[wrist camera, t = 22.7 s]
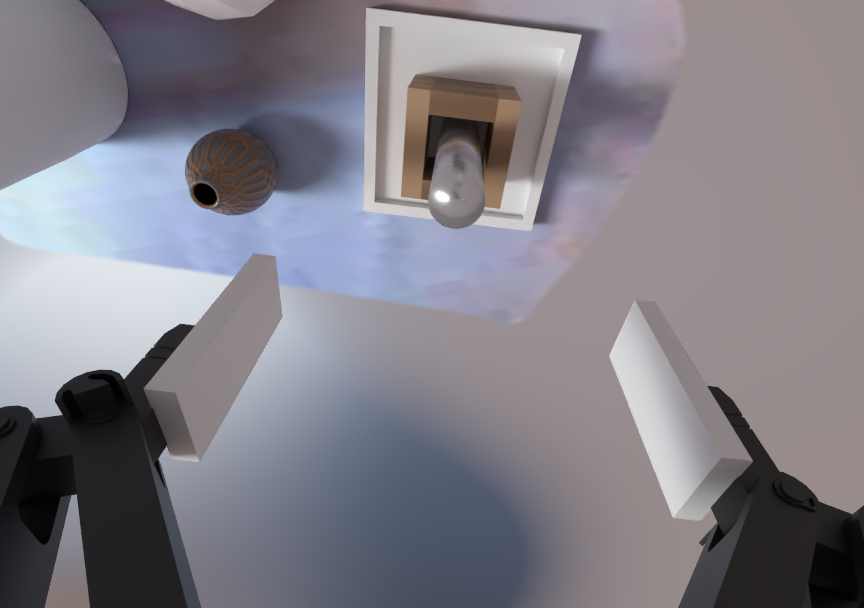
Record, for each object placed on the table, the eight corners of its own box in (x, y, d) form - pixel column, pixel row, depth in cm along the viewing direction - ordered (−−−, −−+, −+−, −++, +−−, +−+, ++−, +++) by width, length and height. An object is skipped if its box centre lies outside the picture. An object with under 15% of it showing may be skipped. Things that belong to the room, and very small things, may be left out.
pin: (443, 109, 37) (431, 170, 24) (481, 113, 37) (490, 178, 24) (438, 147, 38) (425, 224, 25) (474, 152, 38) (479, 231, 25)
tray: (369, 7, 33) (366, 7, 32) (577, 33, 33) (581, 34, 32) (366, 204, 43) (363, 210, 41) (529, 224, 43) (531, 231, 42)
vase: (272, 208, 44) (235, 250, 36) (204, 171, 42) (150, 207, 35) (297, 148, 40) (261, 181, 33) (224, 105, 38) (168, 130, 31)
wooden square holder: (415, 74, 35) (407, 87, 30) (514, 86, 35) (522, 101, 30) (408, 172, 40) (400, 196, 35) (495, 182, 40) (499, 208, 35)
